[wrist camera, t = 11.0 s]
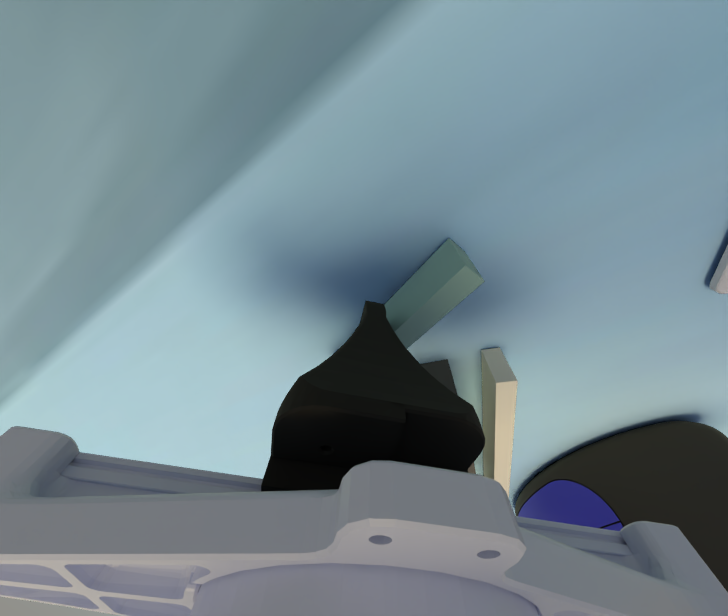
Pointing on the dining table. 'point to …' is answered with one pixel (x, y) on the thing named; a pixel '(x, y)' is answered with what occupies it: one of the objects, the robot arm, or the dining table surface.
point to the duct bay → (498, 415)
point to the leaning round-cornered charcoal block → (643, 486)
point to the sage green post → (432, 292)
